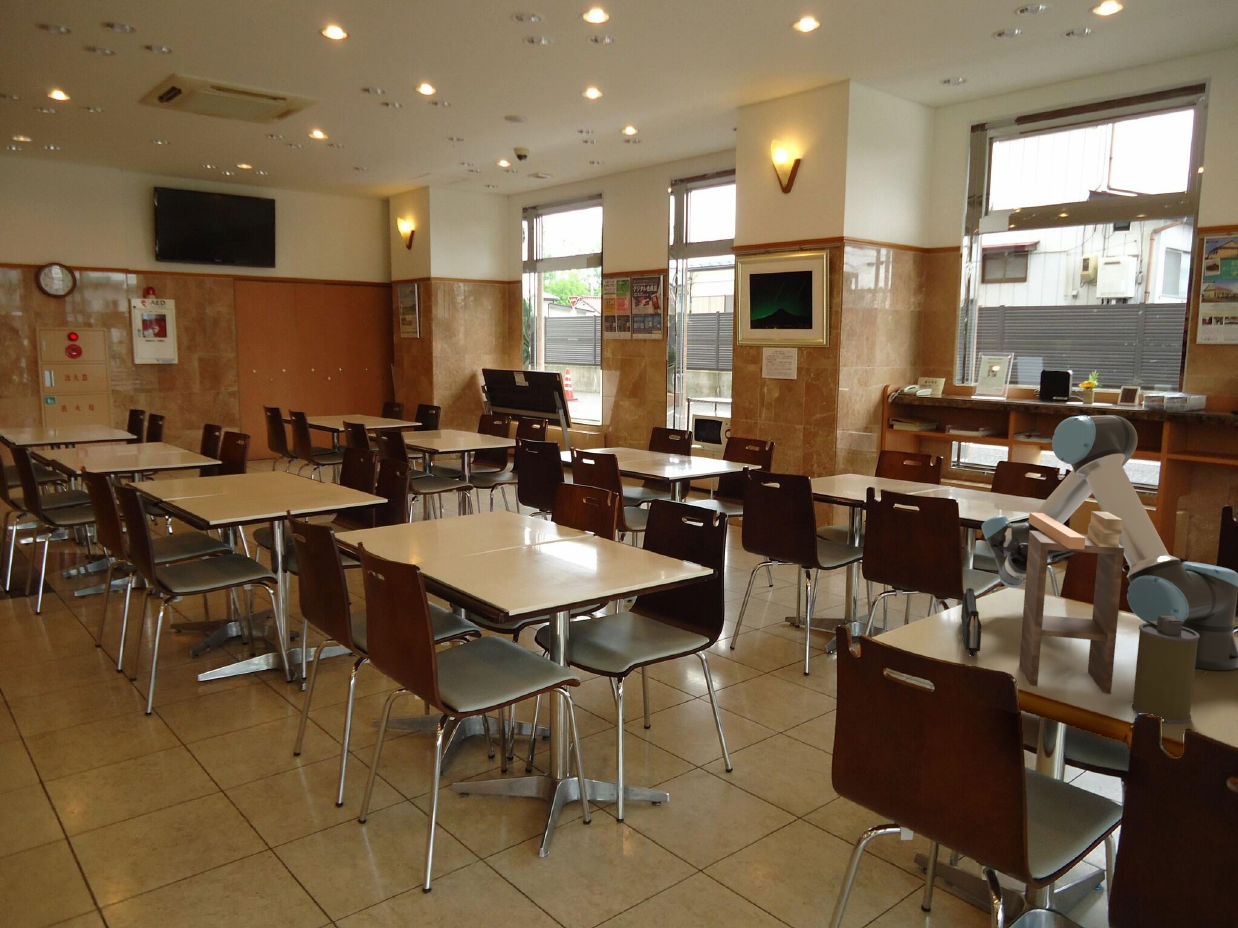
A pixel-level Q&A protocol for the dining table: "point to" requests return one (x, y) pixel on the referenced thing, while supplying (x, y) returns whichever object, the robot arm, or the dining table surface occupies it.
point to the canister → (1165, 669)
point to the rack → (1096, 630)
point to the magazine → (970, 623)
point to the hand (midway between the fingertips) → (1039, 535)
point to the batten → (1057, 531)
